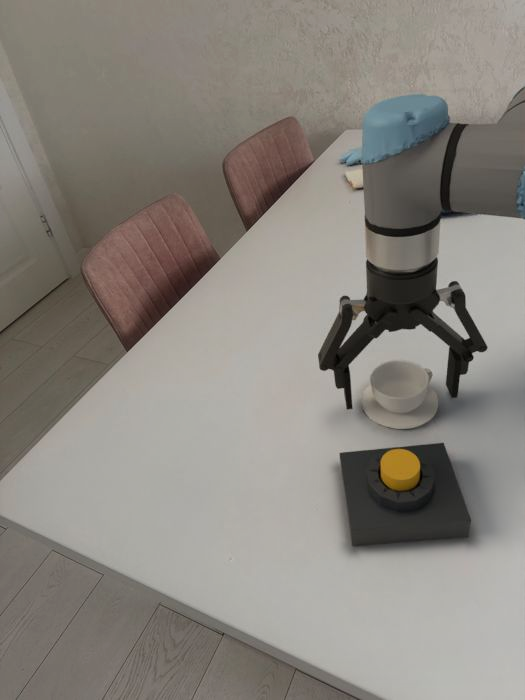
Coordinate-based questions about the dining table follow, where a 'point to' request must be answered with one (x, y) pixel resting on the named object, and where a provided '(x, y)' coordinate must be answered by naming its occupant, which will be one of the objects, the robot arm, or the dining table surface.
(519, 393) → the dining table surface
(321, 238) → the dining table surface
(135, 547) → the dining table surface
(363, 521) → the yellow button cap base
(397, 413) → the teacup
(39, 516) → the dining table surface
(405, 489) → the yellow button cap
